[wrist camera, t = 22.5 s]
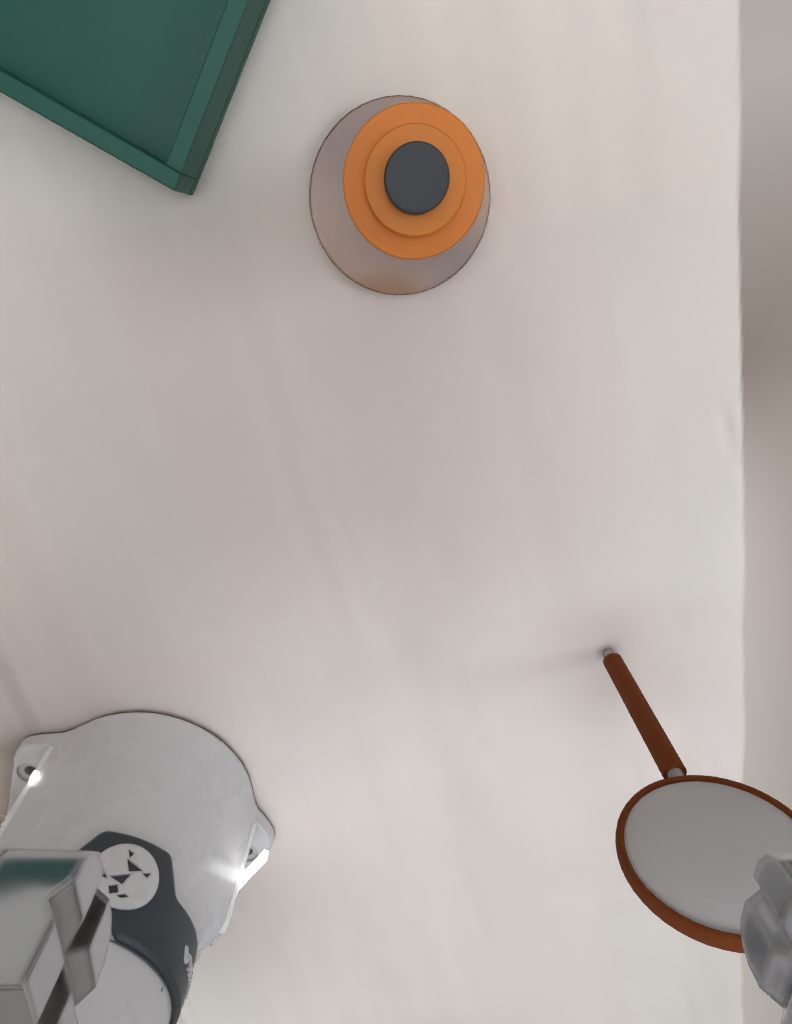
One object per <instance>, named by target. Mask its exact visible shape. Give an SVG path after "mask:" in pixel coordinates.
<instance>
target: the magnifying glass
mask: <svg viewBox="0 0 792 1024" xmlns="http://www.w3.org/2000/svg"><path fill="white" fill-rule="evenodd" d="M603 656H604V660H603V663H604V666H605V668H606V669H607V671H608V673H609V675H610V677H611V679H612V681H613V683H614V685H615V687H616V688H617V690H618V692H619V694H620V696H621V698H622V700H623V702H624V704H625V706H626V707H627V709H628V711H629V713H630V715H631V717H632V719H633V721H634V723H635V725H636V726H637V728H638V730H639V732H640V734H641V736H642V738H643V740H644V742H645V744H646V745H647V747H648V749H649V751H650V753H651V755H652V757H653V759H654V761H655V763H656V764H657V766H658V768H659V770H660V772H661V774H662V776H663V778H664V779H663V780H659V781H657V782H654V783H652V784H650V785H648V786H646V787H644V788H643V789H641V790H640V791H639V792H637V793H636V794H635V795H634V796H633V797H632V798H631V799H630V800H629V801H628V803H627V804H626V805H625V807H624V808H623V810H622V812H621V814H620V817H619V819H618V824H617V829H616V850H617V856H618V859H619V863H620V866H621V869H622V871H623V873H624V875H625V877H626V879H627V881H628V883H629V884H630V886H631V887H632V889H633V891H634V892H635V893H636V894H637V896H638V897H639V898H640V899H641V901H642V902H643V903H644V904H645V905H646V906H647V907H648V908H649V909H650V910H651V911H652V912H653V913H654V914H655V915H657V916H658V917H659V918H660V919H661V920H663V921H664V922H665V923H667V924H668V925H670V926H671V927H673V928H674V929H676V930H677V931H679V932H681V933H683V934H684V935H686V936H688V937H690V938H692V939H694V940H697V941H699V942H701V943H704V944H706V945H709V946H712V947H716V948H719V949H722V950H727V951H732V952H737V953H745V952H744V949H743V946H742V938H741V928H740V918H741V914H742V911H743V907H744V903H745V901H746V900H747V899H748V898H750V897H751V896H752V895H753V894H754V893H756V892H757V891H758V890H759V889H761V888H760V887H759V885H758V883H757V882H756V880H755V878H754V876H753V874H754V871H755V868H756V865H757V862H758V860H759V859H761V858H762V857H763V856H764V855H765V854H789V853H792V810H790V809H789V808H788V807H786V806H785V805H783V804H782V803H781V802H779V801H778V800H776V799H774V798H772V797H771V796H769V795H767V794H765V793H763V792H761V791H759V790H757V789H755V788H752V787H750V786H747V785H744V784H742V783H739V782H735V781H732V780H728V779H723V778H718V777H712V776H703V775H686V774H687V770H686V768H685V766H684V765H683V763H682V761H681V760H680V758H679V756H678V754H677V753H676V751H675V749H674V747H673V746H672V744H671V742H670V741H669V739H668V737H667V735H666V734H665V732H664V730H663V728H662V727H661V725H660V723H659V722H658V720H657V718H656V716H655V715H654V713H653V711H652V709H651V708H650V706H649V704H648V703H647V701H646V699H645V697H644V696H643V694H642V692H641V690H640V689H639V687H638V685H637V683H636V682H635V680H634V678H633V677H632V675H631V673H630V671H629V670H628V668H627V666H626V664H625V663H624V661H623V659H622V658H621V656H620V655H619V654H617V653H615V652H614V651H613V650H611V649H608V650H606V651H605V652H604V653H603Z"/></svg>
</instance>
